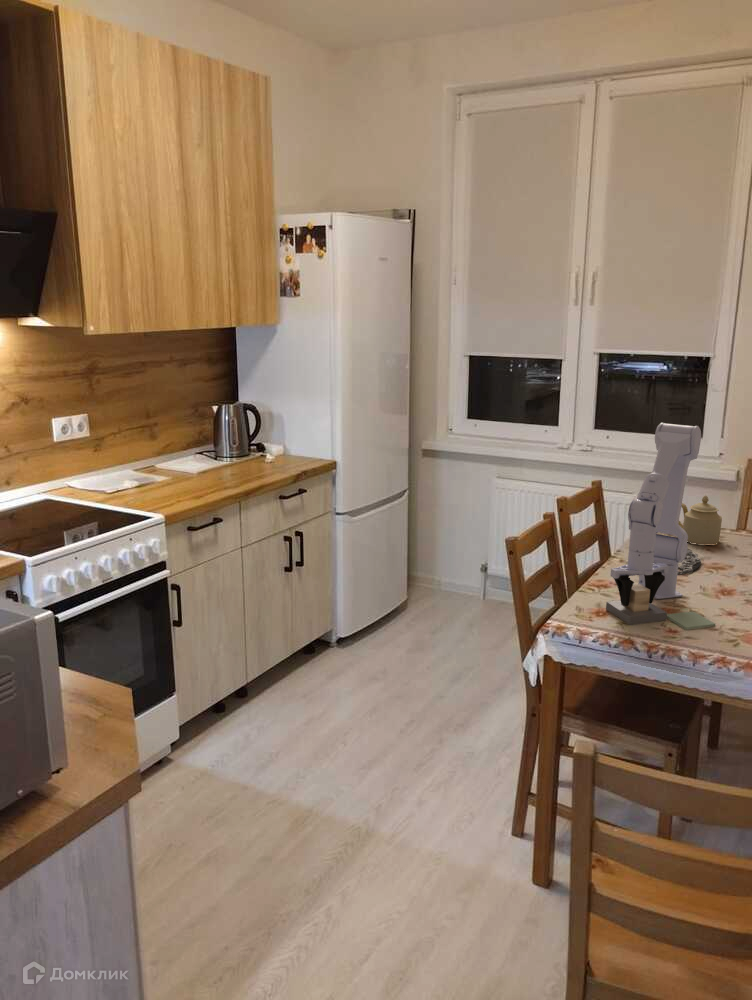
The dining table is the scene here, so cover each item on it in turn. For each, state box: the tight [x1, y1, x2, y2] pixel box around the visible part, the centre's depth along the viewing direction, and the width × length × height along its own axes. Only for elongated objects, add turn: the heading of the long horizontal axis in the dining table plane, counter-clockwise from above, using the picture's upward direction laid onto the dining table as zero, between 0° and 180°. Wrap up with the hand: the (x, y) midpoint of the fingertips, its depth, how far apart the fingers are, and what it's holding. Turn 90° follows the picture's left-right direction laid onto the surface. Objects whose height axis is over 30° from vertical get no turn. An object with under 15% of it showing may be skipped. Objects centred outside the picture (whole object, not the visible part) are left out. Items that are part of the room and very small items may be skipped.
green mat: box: [666, 610, 716, 631], centre depth 184 cm, size 8×8×1 cm
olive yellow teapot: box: [678, 494, 723, 544], centre depth 247 cm, size 15×11×15 cm
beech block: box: [624, 583, 650, 612], centre depth 187 cm, size 4×4×7 cm
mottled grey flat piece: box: [677, 548, 702, 576], centre depth 229 cm, size 28×2×10 cm
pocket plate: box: [605, 599, 668, 626], centre depth 188 cm, size 10×10×2 cm
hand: (636, 603), depth 187 cm, fingers open, 6 cm apart
